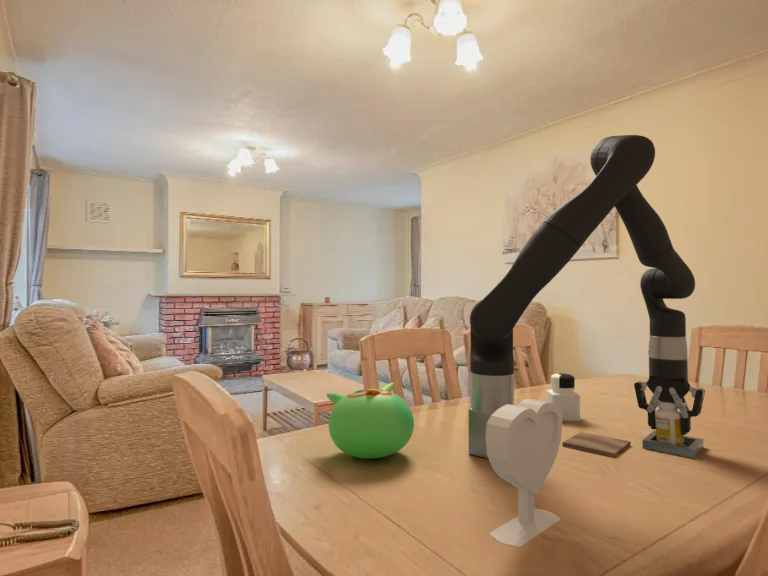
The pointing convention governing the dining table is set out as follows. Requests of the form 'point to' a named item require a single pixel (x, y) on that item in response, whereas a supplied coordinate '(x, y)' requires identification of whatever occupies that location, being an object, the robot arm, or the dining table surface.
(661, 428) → the supplement bottle
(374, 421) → the green rounded blob
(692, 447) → the square frame
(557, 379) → the medicine bottle
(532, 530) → the heart sculpture
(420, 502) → the dining table surface
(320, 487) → the dining table surface
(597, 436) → the coaster
